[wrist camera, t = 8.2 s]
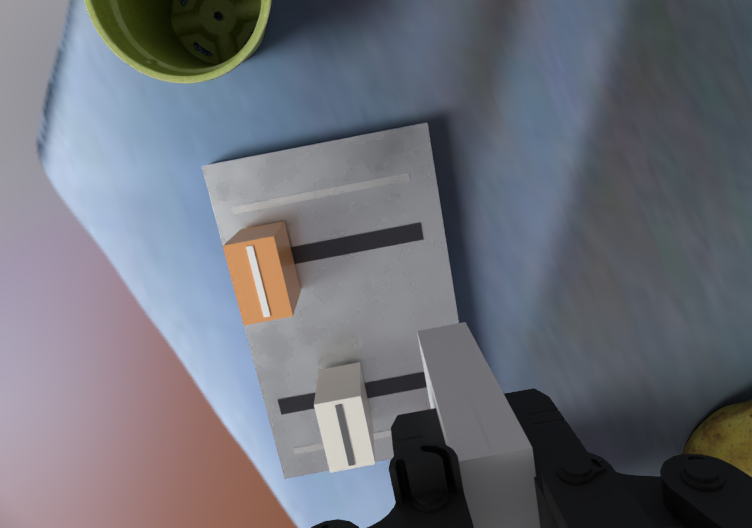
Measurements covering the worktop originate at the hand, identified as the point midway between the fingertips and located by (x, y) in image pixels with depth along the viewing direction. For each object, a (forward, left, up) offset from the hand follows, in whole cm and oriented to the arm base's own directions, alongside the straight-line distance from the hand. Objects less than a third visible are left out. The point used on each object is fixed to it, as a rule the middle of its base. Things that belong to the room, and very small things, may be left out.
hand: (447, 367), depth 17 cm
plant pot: (+9, -16, -23) cm, 29 cm away
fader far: (+6, +11, -21) cm, 24 cm away
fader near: (+9, 0, -21) cm, 22 cm away
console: (+4, +5, -23) cm, 24 cm away
